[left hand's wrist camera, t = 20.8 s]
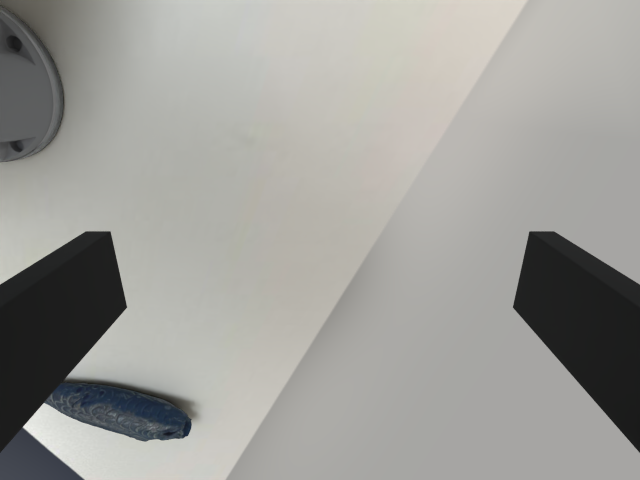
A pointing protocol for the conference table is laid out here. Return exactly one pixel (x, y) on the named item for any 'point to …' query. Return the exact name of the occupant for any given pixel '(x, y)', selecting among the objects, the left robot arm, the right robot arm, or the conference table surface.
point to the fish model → (121, 411)
